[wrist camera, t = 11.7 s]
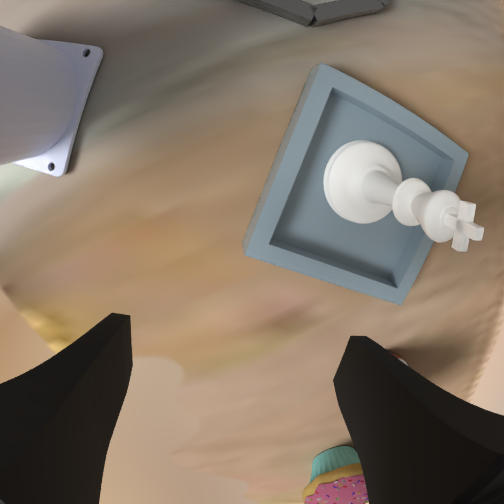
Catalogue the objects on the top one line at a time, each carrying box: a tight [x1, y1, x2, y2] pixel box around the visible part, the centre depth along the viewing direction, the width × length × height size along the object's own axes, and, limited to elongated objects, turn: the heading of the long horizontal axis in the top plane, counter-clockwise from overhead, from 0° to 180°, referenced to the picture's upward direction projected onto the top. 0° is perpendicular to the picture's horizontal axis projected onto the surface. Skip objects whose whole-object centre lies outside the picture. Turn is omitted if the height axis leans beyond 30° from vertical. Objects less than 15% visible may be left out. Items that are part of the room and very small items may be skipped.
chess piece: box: [323, 140, 484, 252], centre depth 13 cm, size 5×5×10 cm
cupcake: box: [302, 446, 369, 504], centre depth 23 cm, size 9×8×12 cm
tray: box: [242, 63, 469, 305], centre depth 18 cm, size 11×11×2 cm
